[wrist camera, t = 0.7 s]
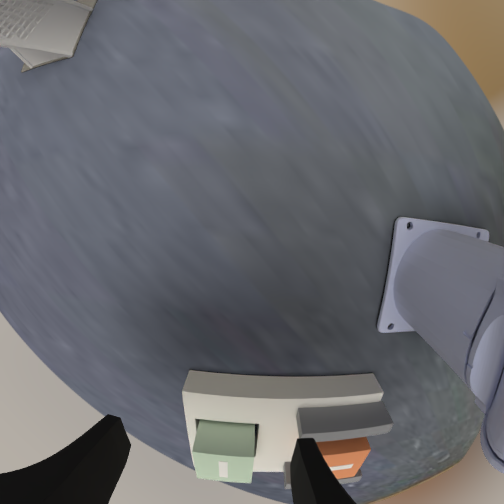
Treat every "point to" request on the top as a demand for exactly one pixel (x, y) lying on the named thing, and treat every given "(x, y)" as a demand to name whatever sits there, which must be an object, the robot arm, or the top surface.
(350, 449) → the button
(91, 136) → the top surface
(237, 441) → the on button
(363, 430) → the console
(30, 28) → the skyscraper
